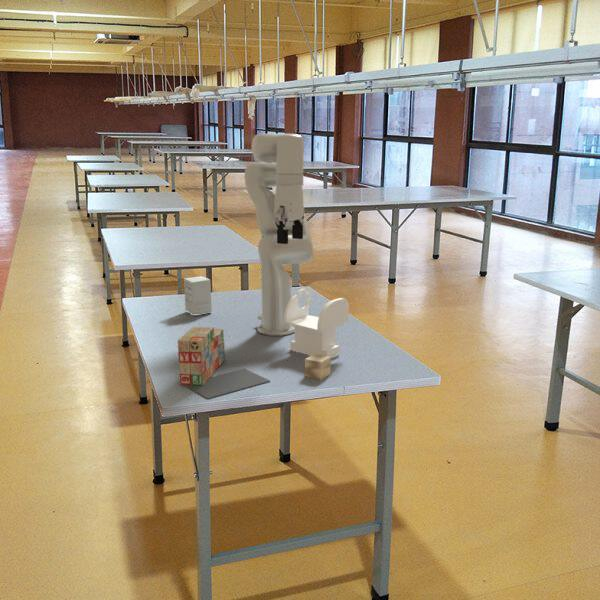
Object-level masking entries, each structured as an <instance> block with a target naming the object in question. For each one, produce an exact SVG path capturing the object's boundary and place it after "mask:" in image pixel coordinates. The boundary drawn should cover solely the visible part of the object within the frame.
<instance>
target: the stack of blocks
mask: <svg viewBox="0 0 600 600" xmlns="http://www.w3.org/2000/svg"><path fill="white" fill-rule="evenodd" d="M224 338H225V337H224V328H215V327H211V326H192V327H190V329H189V330H187V331H186V332H185V333H184V334H183V335H182V336H180V337H179V338H178V339H177V349H178V352H177V354H178V365H179V384H180V386H184V385H201V386H203V385H204V384H205V382H206V381H207V380H208V379H209V378H210V377H213V375H214V373H215V372H216V370H217V369H218V368H219V366H221V365H222V363H224V361H225V360H226V356H225V355H226V354H225V352H226V351H225V339H224Z"/></svg>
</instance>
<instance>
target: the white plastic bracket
mask: <svg viewBox="0 0 600 600" xmlns="http://www.w3.org/2000/svg"><path fill="white" fill-rule="evenodd" d="M303 293H305V294H306V302H305V304H304V306H303V307H301V306H300V304H299V298H300V296H301V295H302V294H303ZM311 302H312V294H311V292H310V290H309V289H307V288H300V289H298V291H297V292H296V293H295V295H293V296H291V299H290V301H289V302H288V304H287V306H286V309H285V313H284V323H285V324H289V325H293V326H295V332H294V340H291V341H289V342H290V346H289V347H290V349H289V350H290V351H291V350H293V351H292V352H295V351H297V352H296V353H298V352H301V353H300V354H302V353H304V354H303V355H305V354H308V355H307V356H309V355H313V354H318V355H323V356H329V357H330V360H331V359H334V358H337V357H338V355H339V356H340V345H336V328H337V327H340V326H343V325H344V323H347V322H349V321H350V304H349V300H348V299H347V298H344V297H343V298H342V297H339V298H335V299H332V300H329V301H328V302H327V303H326V304H325V305H324V306H323V307H322V309H321V311H320V313H319V316H315V315H309V307H310V304H311Z"/></svg>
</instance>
